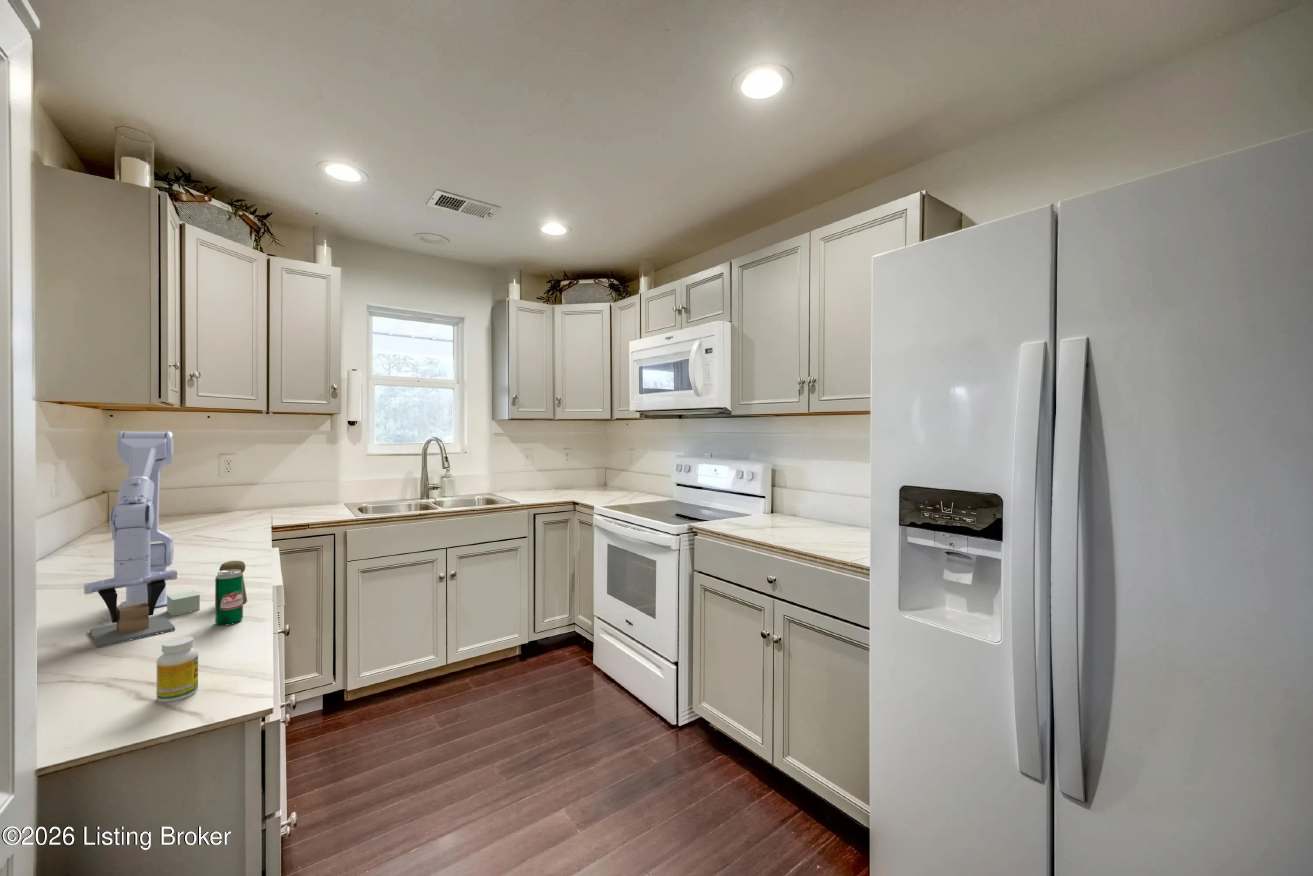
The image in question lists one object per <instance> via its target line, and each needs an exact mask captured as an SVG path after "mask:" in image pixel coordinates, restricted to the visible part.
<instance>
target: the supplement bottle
mask: <svg viewBox="0 0 1313 876" xmlns="http://www.w3.org/2000/svg"><path fill="white" fill-rule="evenodd" d="M193 646H194V638H193V637H192V636H179V637H175V638H171V639H168V640H166V641H164V642H162V644H161V652H162V654H161V655H159V657H157V660H156V691H155V692H156V693H155V694H156V695H155V696H156V699H157V701H158V702H160V703H173V702H178V701H181V700H184V699H187V698H189V697H191V696H193V695H194V694H195V693H196V692H197V691H198V689H199V652H198V650H197V649H196V648H194V647H193ZM192 694H193V695H192Z"/></svg>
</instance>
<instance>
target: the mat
mask: <svg viewBox="0 0 1313 876" xmlns="http://www.w3.org/2000/svg"><path fill="white" fill-rule="evenodd" d="M171 630H174V631H175V630H176V627H175V626H174V624H172V623H171V621H170V620H169V619H168V618H167V617H166V615H164V614H159V615H152V616H149V628H147V629H143V630H138V631H133V632H129V633H124V634H120V633H119V632H118V630H117V623H113V624H109V625H105V626H100V627H95V628H91V629H89V634H90V633H91V634H90V636H91V638H92V640H93V639H94V640H93V642H94V644H95V643H96V644H95V646H96V645H97V646H96V647H98V648H102V647H101V646H103V647H106V645H107V646H110V645H109V644H112V645H115V644H114V643H116V644H120V643H123V642H122V641H125V642H127V641H126V640H129V641H131V640H130V639H134V640H136V638H138V639H140V638H139V637H143V636H147V637H150V636H149V635H151V636H153V635H152V634H156V633H160V634H162V633H161V632H165V633H167V632H166V631H169V632H172V631H171ZM156 635H157V634H156ZM143 638H144V637H143ZM119 642H120V643H119Z"/></svg>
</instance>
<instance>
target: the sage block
mask: <svg viewBox="0 0 1313 876" xmlns="http://www.w3.org/2000/svg"><path fill="white" fill-rule="evenodd" d="M200 596H201V595H200V593H198V592H196V591H194V590H190V591H189V590H188V591H183V592H178V593H174V594H168V595H166V598H167V605H166V612H167V611H168V612H167V613H168V614H170V615H171V614H172V615H175V616H179V615H182V613H184V614H187V612H188V613H191V612H190V611H193V612H196V611H197V610H198V611H200V610H201V608H200V607H201V606H200V603H201V602H200ZM178 614H179V615H178ZM172 615H171V616H172Z"/></svg>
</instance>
